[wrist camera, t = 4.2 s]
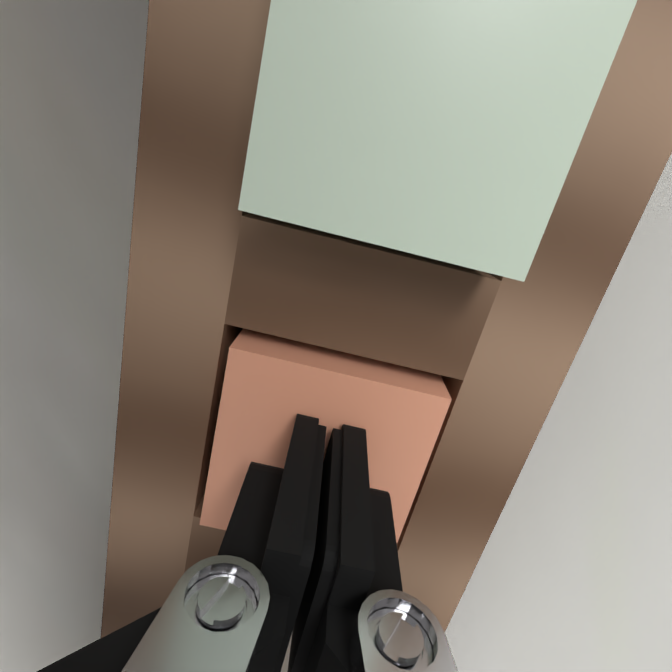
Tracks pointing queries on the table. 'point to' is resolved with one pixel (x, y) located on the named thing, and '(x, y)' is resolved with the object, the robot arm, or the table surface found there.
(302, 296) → the console
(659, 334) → the table surface
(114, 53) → the table surface
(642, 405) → the table surface
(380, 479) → the terracotta key
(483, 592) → the table surface
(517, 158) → the sage key
